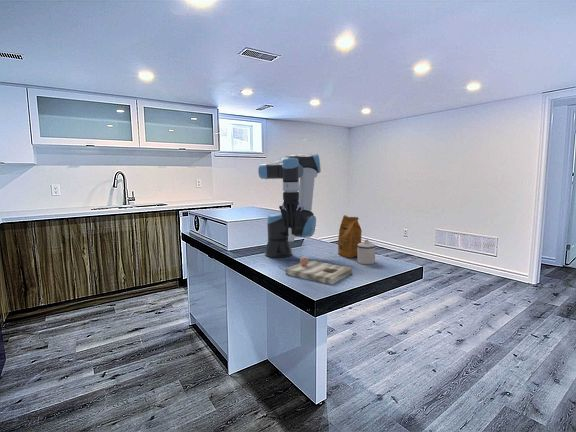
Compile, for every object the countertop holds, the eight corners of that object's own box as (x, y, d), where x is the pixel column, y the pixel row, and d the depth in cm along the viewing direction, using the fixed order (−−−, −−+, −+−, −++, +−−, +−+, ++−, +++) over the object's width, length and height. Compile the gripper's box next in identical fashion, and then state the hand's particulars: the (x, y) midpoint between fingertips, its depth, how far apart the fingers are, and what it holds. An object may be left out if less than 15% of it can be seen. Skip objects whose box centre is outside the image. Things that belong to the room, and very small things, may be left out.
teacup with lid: (379, 263, 159) (379, 240, 157) (363, 265, 155) (364, 242, 154) (365, 257, 170) (365, 236, 168) (350, 259, 166) (350, 237, 165)
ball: (298, 265, 148) (298, 257, 148) (302, 263, 151) (302, 255, 151) (305, 267, 146) (305, 258, 145) (310, 265, 149) (309, 256, 148)
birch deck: (285, 274, 144) (285, 268, 144) (307, 264, 158) (307, 259, 158) (332, 284, 130) (332, 278, 129) (351, 273, 144) (351, 267, 144)
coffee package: (349, 251, 183) (349, 213, 180) (363, 256, 172) (364, 216, 169) (335, 254, 178) (335, 215, 175) (349, 259, 167) (349, 217, 164)
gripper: (275, 191, 149) (275, 240, 152) (297, 192, 141) (298, 244, 144) (284, 190, 155) (285, 238, 158) (307, 191, 147) (307, 241, 150)
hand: (291, 241), depth 151 cm, fingers closed
